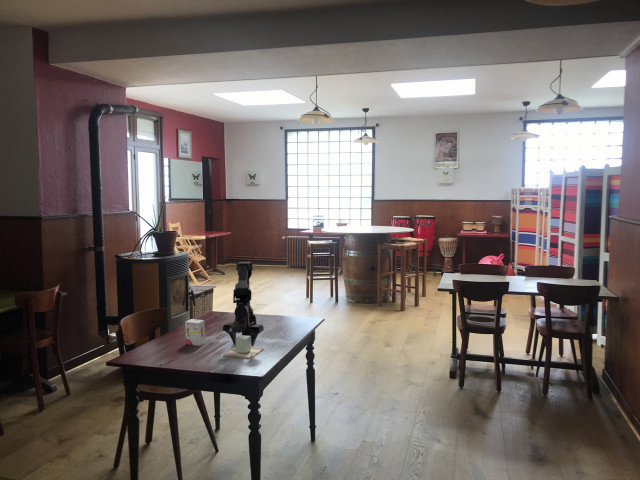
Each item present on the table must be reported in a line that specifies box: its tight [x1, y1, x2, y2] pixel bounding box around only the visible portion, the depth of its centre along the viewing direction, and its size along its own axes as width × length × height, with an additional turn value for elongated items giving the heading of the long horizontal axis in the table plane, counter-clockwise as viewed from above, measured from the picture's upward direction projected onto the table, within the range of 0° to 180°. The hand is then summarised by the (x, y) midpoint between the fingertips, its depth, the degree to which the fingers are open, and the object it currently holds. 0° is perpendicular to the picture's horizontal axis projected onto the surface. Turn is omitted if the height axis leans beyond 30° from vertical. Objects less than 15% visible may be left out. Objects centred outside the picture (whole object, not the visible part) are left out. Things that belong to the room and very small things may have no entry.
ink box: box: [184, 318, 206, 347], centre depth 258 cm, size 9×5×12 cm, turn 68°
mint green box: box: [235, 334, 252, 353], centre depth 243 cm, size 5×5×7 cm
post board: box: [223, 346, 264, 360], centre depth 243 cm, size 14×14×1 cm
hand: (243, 345), depth 243 cm, fingers open, 9 cm apart
